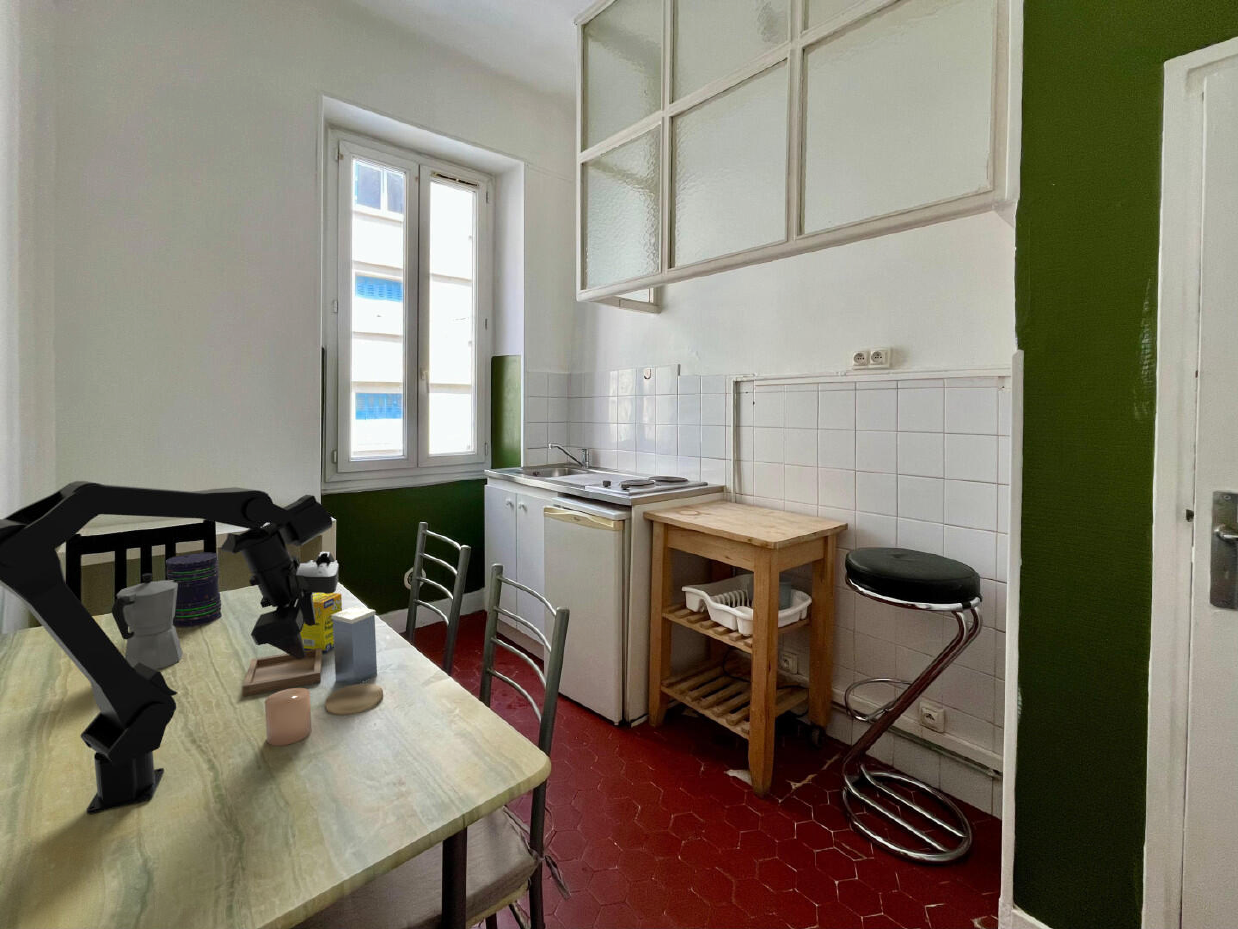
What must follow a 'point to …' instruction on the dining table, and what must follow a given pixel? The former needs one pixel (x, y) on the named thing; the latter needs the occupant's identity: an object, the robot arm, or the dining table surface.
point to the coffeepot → (149, 622)
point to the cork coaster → (354, 699)
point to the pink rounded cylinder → (288, 716)
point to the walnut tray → (282, 672)
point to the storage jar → (195, 588)
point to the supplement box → (322, 622)
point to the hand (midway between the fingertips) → (307, 640)
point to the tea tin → (354, 645)
